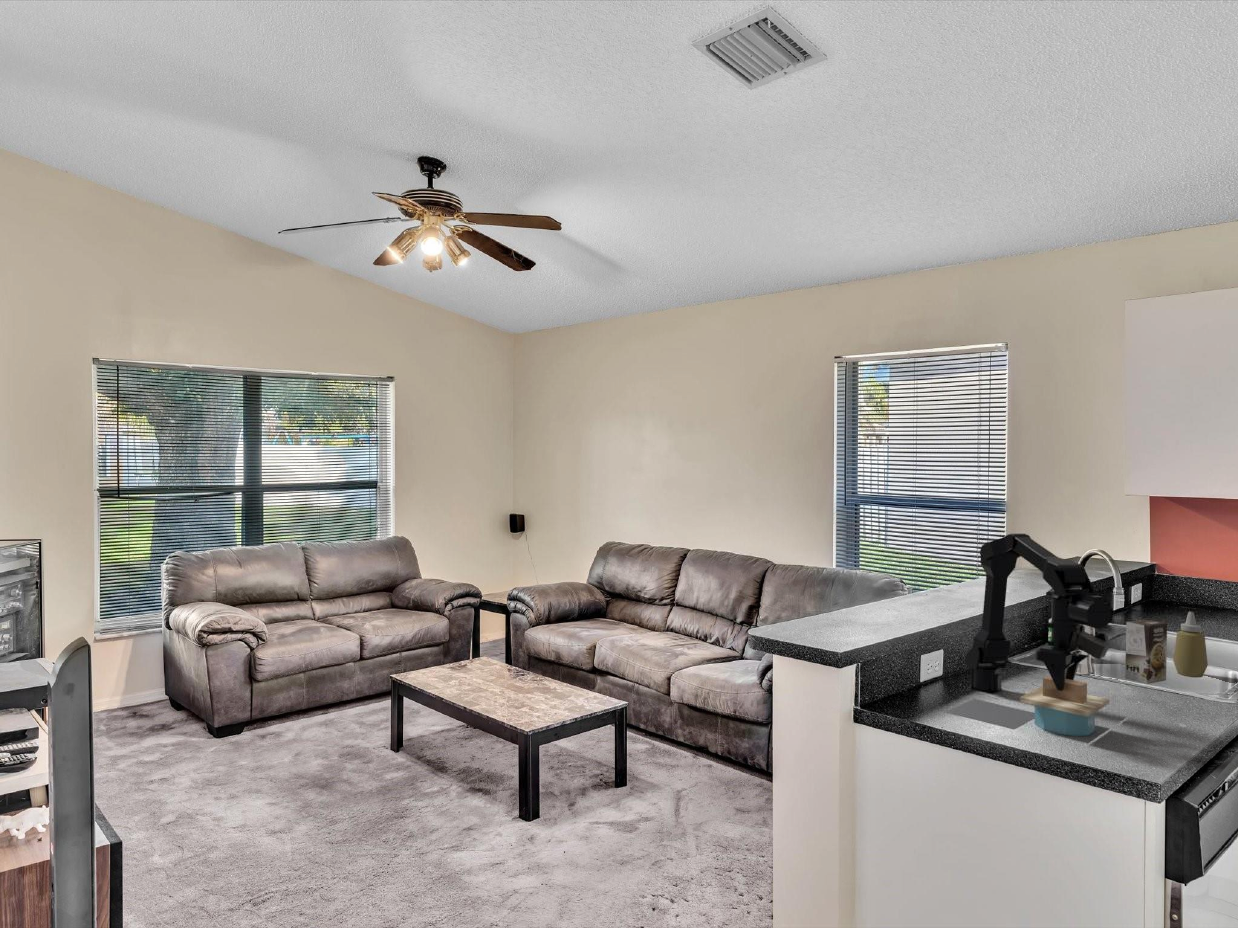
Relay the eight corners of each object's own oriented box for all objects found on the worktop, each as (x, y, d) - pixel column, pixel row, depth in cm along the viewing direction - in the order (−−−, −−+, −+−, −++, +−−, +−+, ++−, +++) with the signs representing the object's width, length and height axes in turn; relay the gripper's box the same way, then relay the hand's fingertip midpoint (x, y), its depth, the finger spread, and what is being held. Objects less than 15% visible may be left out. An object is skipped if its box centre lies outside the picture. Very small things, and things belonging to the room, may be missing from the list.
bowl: (1028, 728, 183) (1029, 701, 183) (1047, 717, 191) (1047, 692, 191) (1082, 741, 175) (1082, 713, 175) (1099, 729, 182) (1099, 703, 182)
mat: (944, 713, 193) (944, 711, 193) (974, 700, 204) (974, 698, 204) (1014, 730, 181) (1014, 729, 181) (1041, 715, 192) (1041, 714, 192)
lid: (1019, 701, 183) (1020, 679, 183) (1043, 689, 193) (1043, 668, 193) (1087, 716, 173) (1088, 693, 173) (1109, 703, 182) (1109, 681, 182)
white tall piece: (1098, 675, 228) (1099, 622, 228) (1071, 674, 230) (1072, 621, 229) (1089, 669, 235) (1089, 617, 235) (1062, 667, 236) (1063, 616, 236)
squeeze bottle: (1165, 671, 233) (1166, 609, 233) (1192, 671, 234) (1193, 609, 234) (1187, 679, 225) (1189, 614, 225) (1214, 679, 226) (1216, 614, 226)
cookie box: (1148, 684, 220) (1149, 625, 220) (1124, 678, 225) (1125, 620, 225) (1167, 680, 224) (1168, 622, 224) (1143, 674, 230) (1144, 618, 229)
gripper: (1091, 630, 170) (1089, 704, 170) (1119, 619, 183) (1118, 688, 183) (1035, 622, 178) (1034, 692, 179) (1066, 611, 191) (1064, 677, 191)
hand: (1064, 687), depth 183 cm, fingers open, 5 cm apart
